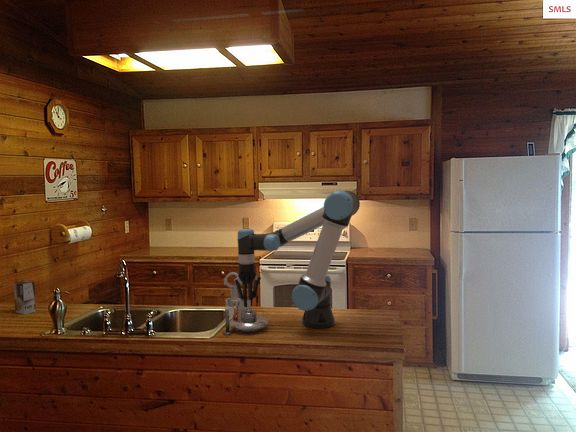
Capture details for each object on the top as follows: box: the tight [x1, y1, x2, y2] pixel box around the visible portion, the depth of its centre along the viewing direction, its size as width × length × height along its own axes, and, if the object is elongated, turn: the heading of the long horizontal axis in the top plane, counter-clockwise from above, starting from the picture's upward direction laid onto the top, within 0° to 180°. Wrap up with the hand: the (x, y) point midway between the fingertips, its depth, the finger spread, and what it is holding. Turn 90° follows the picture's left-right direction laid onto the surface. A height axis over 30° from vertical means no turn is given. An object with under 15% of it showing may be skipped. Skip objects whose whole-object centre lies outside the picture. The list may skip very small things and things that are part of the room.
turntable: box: [229, 306, 269, 330], centre depth 213 cm, size 17×17×8 cm
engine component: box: [223, 271, 246, 315], centre depth 244 cm, size 11×20×10 cm
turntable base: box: [235, 328, 263, 335], centre depth 213 cm, size 12×12×2 cm
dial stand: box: [222, 306, 234, 336], centre depth 207 cm, size 4×4×12 cm
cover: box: [240, 308, 258, 323], centre depth 213 cm, size 7×7×5 cm
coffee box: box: [13, 280, 37, 315], centre depth 249 cm, size 9×6×16 cm
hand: (248, 313), depth 219 cm, fingers closed
